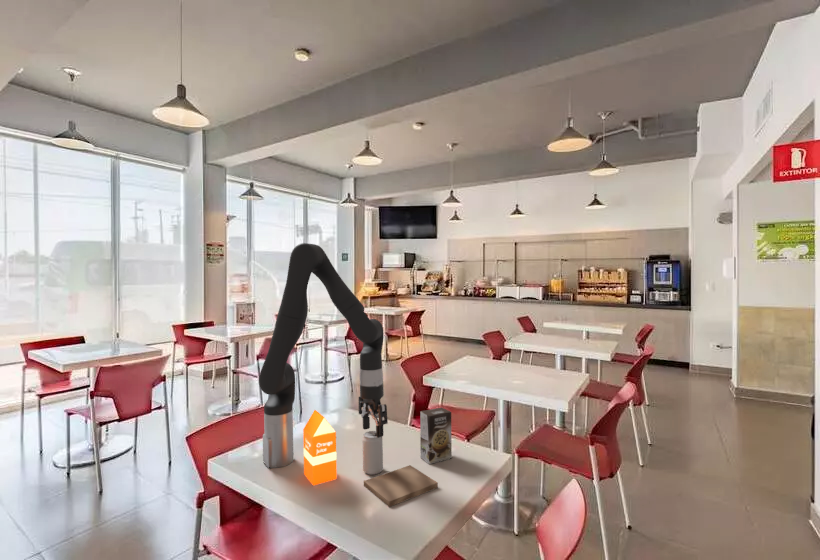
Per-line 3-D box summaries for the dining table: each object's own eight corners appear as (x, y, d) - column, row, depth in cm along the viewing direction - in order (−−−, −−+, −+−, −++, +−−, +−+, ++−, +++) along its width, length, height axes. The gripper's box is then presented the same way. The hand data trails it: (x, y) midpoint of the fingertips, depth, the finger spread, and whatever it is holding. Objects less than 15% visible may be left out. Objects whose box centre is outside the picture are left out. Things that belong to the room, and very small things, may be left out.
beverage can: (380, 476, 129) (379, 438, 129) (360, 475, 130) (359, 437, 130) (385, 467, 135) (384, 430, 135) (366, 465, 137) (365, 429, 137)
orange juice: (312, 485, 124) (311, 419, 124) (303, 474, 132) (302, 411, 131) (337, 478, 128) (336, 414, 128) (327, 467, 136) (326, 406, 136)
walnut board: (389, 507, 112) (389, 501, 112) (363, 486, 124) (363, 481, 124) (437, 487, 122) (437, 482, 122) (410, 469, 133) (410, 465, 133)
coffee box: (429, 464, 137) (428, 416, 136) (419, 457, 142) (419, 410, 142) (452, 458, 141) (452, 411, 141) (442, 451, 147) (441, 406, 146)
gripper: (350, 380, 136) (352, 429, 136) (372, 389, 125) (374, 442, 125) (370, 376, 141) (371, 423, 141) (393, 384, 129) (395, 436, 129)
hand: (372, 432), depth 133 cm, fingers open, 8 cm apart
